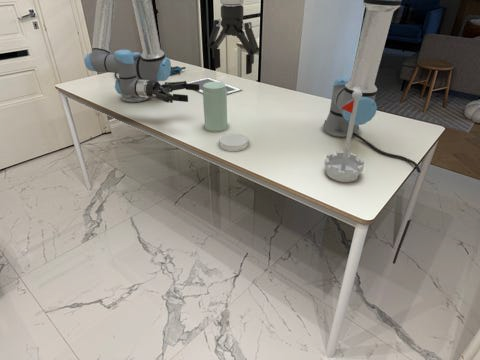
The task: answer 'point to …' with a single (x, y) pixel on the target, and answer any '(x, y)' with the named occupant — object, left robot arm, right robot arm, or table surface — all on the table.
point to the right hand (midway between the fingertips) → (232, 70)
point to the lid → (233, 142)
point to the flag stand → (346, 151)
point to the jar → (215, 106)
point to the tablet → (202, 81)
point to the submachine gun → (176, 69)
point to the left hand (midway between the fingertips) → (193, 92)
